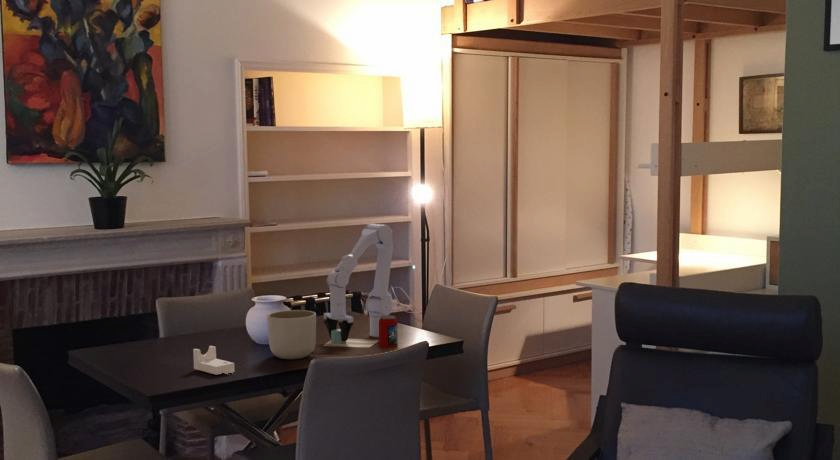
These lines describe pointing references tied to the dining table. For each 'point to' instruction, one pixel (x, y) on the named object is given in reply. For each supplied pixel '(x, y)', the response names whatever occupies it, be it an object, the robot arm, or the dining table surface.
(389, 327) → the beverage can
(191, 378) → the dining table surface
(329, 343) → the stud plate
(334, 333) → the cap
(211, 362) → the bracket
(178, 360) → the dining table surface
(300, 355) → the planter
